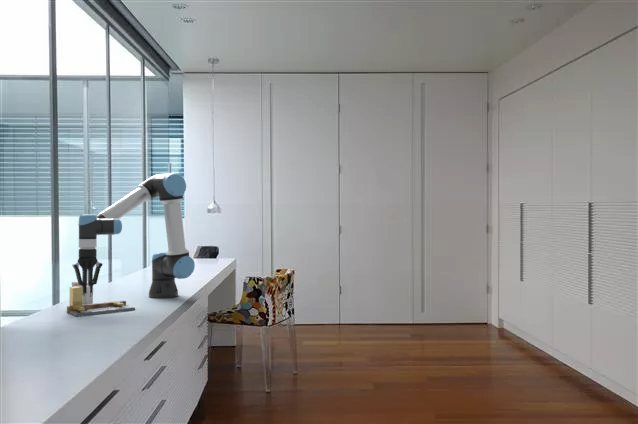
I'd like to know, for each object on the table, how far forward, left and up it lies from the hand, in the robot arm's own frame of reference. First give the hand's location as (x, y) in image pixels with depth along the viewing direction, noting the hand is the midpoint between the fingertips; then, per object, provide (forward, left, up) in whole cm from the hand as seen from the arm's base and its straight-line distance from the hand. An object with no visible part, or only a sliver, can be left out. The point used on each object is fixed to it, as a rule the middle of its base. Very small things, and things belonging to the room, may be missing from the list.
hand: (87, 300), depth 264 cm
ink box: (-2, -15, -5) cm, 16 cm away
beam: (-4, +3, -5) cm, 7 cm away
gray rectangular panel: (-4, +7, -5) cm, 10 cm away
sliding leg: (+5, +3, -4) cm, 7 cm away
